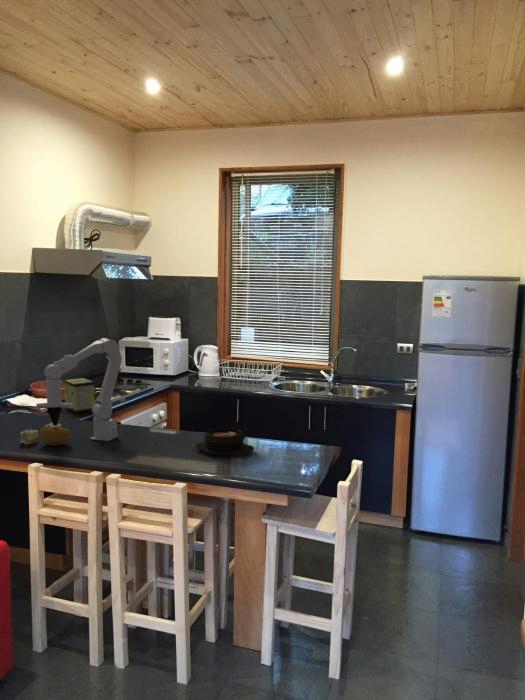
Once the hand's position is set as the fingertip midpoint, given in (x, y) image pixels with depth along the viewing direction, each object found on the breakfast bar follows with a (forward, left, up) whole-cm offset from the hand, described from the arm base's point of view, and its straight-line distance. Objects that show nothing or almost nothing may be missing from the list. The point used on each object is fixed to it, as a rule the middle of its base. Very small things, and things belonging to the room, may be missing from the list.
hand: (55, 425), depth 239 cm
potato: (0, 0, -9) cm, 9 cm away
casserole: (-71, -12, -9) cm, 73 cm away
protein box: (+27, -59, -9) cm, 66 cm away
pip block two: (+10, -12, -9) cm, 18 cm away
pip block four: (+13, 0, -9) cm, 16 cm away
